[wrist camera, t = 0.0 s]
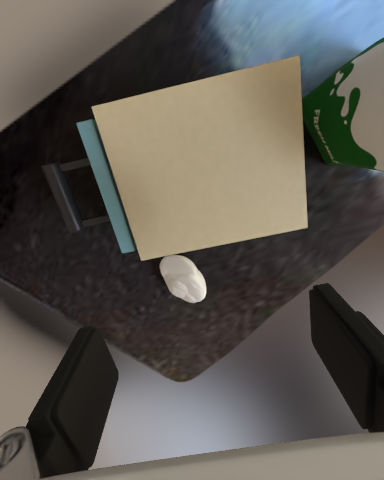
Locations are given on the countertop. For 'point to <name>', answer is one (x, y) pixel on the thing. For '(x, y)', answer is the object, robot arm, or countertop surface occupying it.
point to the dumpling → (183, 278)
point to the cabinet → (210, 159)
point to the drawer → (104, 181)
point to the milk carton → (350, 112)
